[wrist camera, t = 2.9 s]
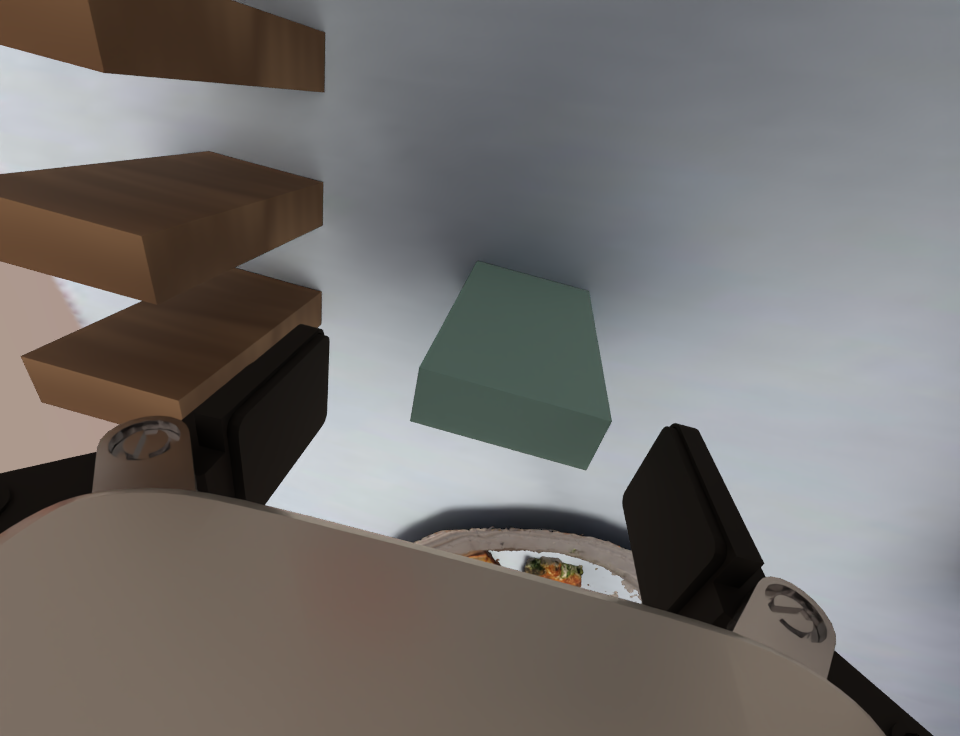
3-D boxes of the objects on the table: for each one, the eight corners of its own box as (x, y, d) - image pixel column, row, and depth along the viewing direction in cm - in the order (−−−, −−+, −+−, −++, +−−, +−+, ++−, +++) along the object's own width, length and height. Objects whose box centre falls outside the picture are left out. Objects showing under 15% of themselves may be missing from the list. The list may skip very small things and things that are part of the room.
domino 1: (190, -4, 15) (-200, -127, 7) (325, 32, 15) (75, -54, 7) (197, 58, 16) (-139, 7, 8) (324, 92, 16) (104, 73, 8)
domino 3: (222, 264, 20) (20, 356, 13) (321, 291, 20) (178, 400, 12) (226, 298, 21) (41, 402, 14) (321, 324, 21) (188, 443, 13)
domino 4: (477, 260, 18) (419, 368, 10) (588, 291, 18) (611, 421, 10) (468, 298, 19) (410, 421, 11) (574, 327, 19) (586, 470, 11)
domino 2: (208, 151, 17) (-59, 180, 10) (323, 182, 17) (140, 235, 10) (214, 195, 18) (-26, 253, 11) (322, 225, 18) (157, 304, 11)
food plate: (697, 710, 35) (710, 765, 32) (437, 684, 41) (427, 728, 38) (711, 494, 24) (732, 548, 21) (347, 501, 29) (323, 543, 26)
